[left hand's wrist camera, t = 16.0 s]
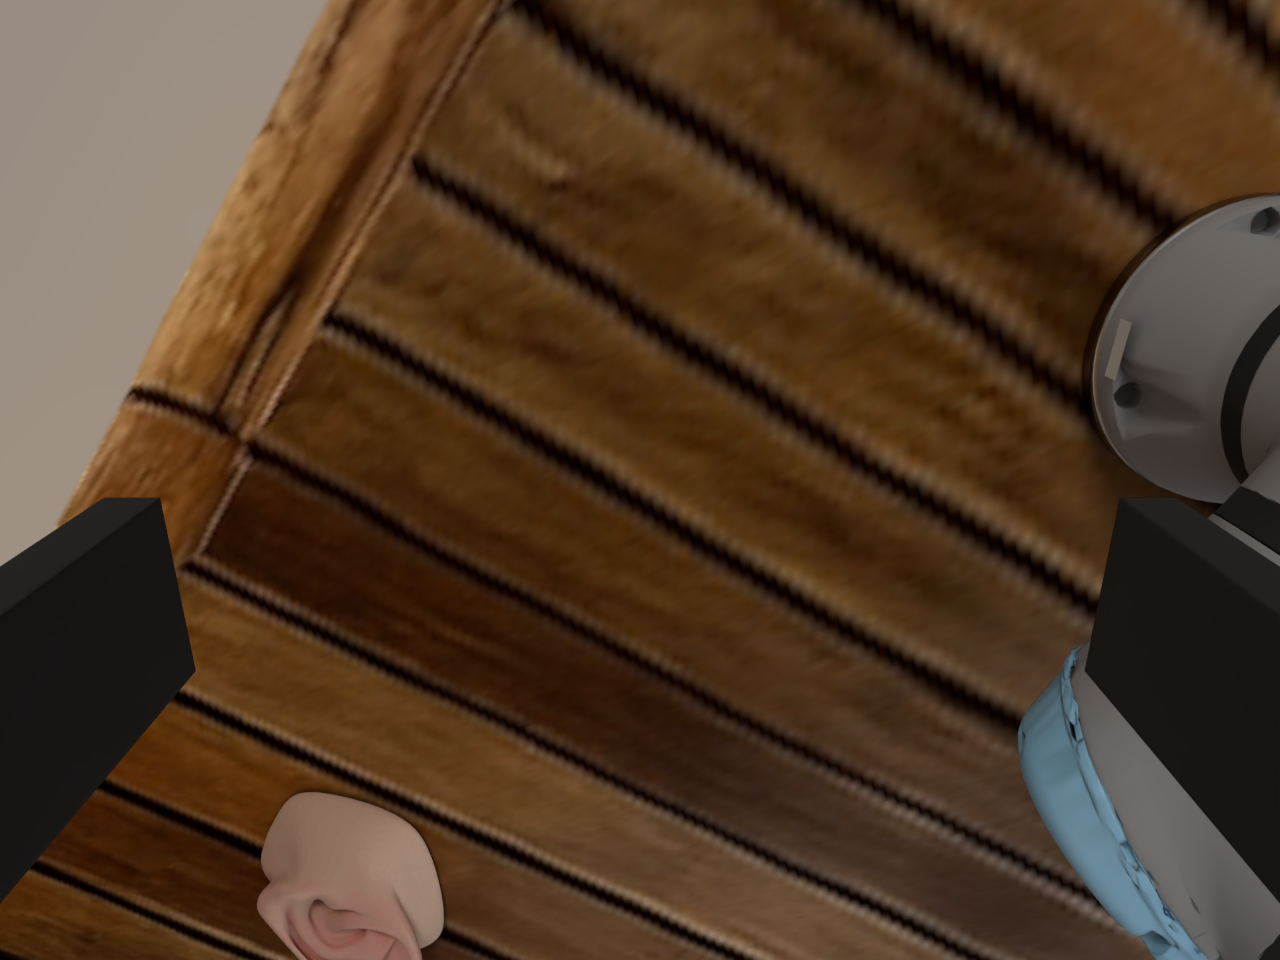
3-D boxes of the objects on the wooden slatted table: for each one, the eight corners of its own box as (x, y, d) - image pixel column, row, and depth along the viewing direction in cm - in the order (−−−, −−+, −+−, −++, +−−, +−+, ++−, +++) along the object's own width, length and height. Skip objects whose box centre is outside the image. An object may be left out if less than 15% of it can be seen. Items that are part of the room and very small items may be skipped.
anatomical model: (225, 834, 51) (426, 843, 51) (253, 787, 55) (440, 795, 55) (249, 1002, 56) (432, 1009, 56) (273, 949, 60) (445, 955, 60)
